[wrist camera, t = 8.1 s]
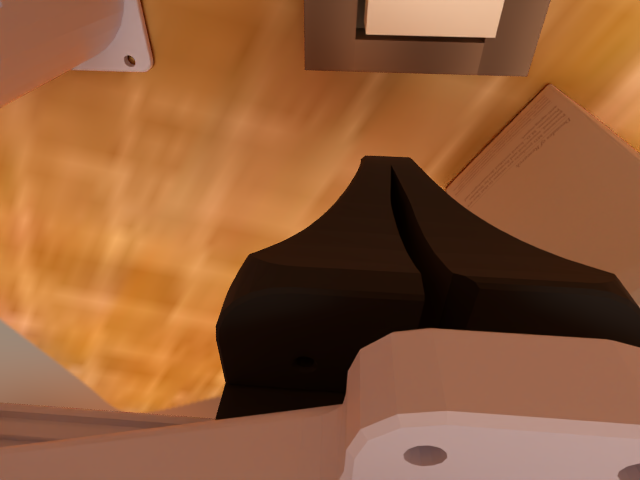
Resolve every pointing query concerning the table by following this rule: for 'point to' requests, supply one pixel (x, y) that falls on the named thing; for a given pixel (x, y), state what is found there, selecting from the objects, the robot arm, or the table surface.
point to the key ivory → (433, 17)
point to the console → (419, 43)
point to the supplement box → (561, 187)
